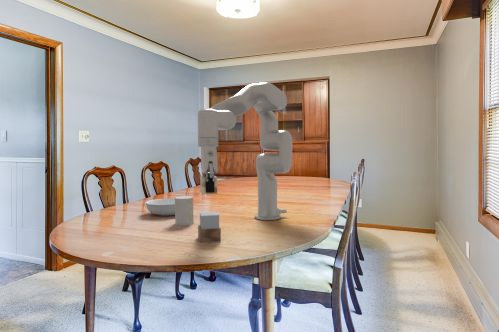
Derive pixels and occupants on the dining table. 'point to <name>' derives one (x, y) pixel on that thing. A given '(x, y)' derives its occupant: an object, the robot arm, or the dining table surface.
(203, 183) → the maple cube
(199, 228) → the walnut block
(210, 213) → the grey block
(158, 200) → the serving bowl
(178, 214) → the cup
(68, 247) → the dining table surface
